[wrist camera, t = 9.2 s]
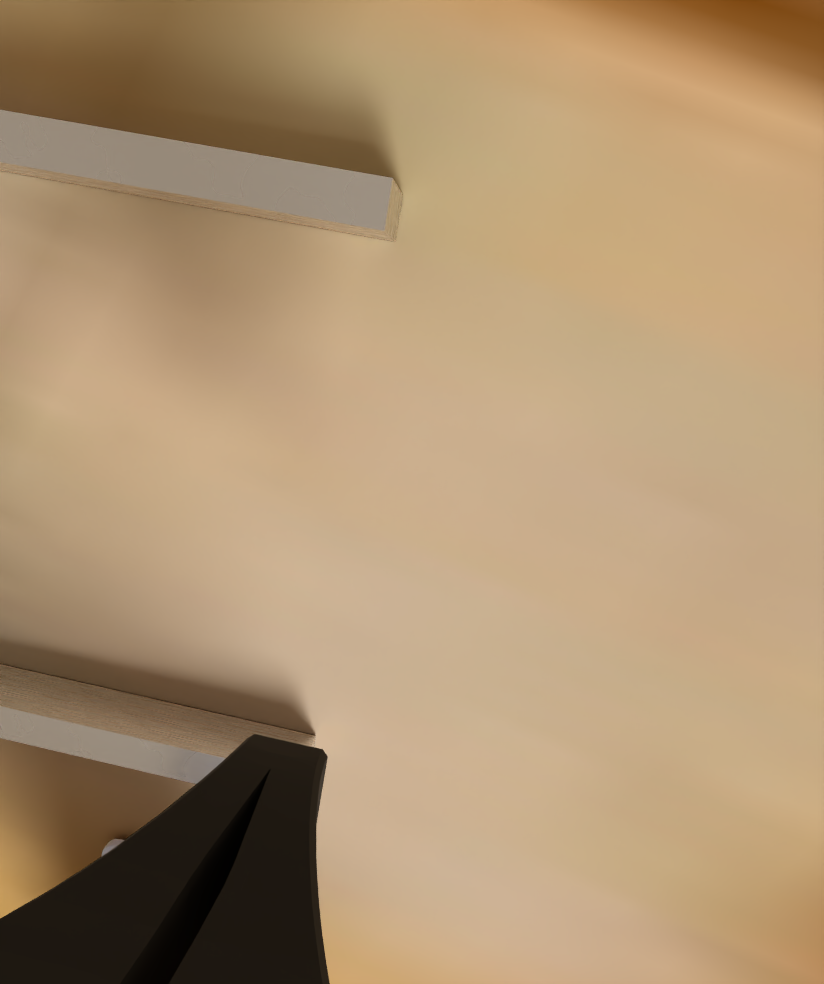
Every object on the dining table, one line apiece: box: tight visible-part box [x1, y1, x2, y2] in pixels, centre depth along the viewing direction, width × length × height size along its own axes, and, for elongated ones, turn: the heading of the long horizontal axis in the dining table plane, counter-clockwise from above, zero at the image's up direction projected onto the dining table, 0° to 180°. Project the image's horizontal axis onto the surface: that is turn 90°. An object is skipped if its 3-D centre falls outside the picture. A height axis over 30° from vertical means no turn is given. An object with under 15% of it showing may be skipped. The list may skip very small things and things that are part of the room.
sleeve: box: [0, 110, 403, 784], centre depth 18 cm, size 19×15×4 cm
